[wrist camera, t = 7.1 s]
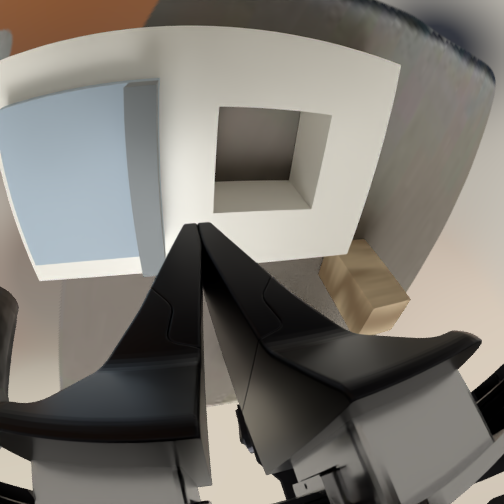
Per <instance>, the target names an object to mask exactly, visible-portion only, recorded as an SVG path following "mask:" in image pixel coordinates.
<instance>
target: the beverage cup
mask: <svg viewBox="0 0 504 504" xmlns="http://www.w3.org/2000/svg"><path fill="white" fill-rule="evenodd" d="M18 308H19V307H18V303H17V301H16V299H15V298H14V297H13V296H12V295H11V294H10V293H9V292H8V291H7V290H5V289H3V288H2V287H0V402H2V401H8V402H9V398H8V384H9V373H10V363H11V355H12V347H13V341H14V334H15V328H16V321H17V320H16V319H17V313H18ZM0 448H1V446H0Z"/></svg>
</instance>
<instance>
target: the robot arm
mask: <svg viewBox="0 0 504 504" xmlns="http://www.w3.org/2000/svg"><path fill="white" fill-rule="evenodd" d="M203 291H204V295H205V299H206V302H207V306H208V309H209V312H210V316H211V319H212V322H213V326H214V329H215V332H216V335H217V339H218V342H219V345H220V348H221V351H222V354H223V357H224V360H225V363H226V366H227V370H228V373H229V376H230V378H231V381H232V384H233V387H234V390H235V393H236V396H237V399H238V402H239V405H237V406H238V409H237V410H236V415H237V418H238V424H239V435H240V442H241V443H242V444H244V445H246V447H247V448H248V450H249V451H250V453H255V457H256V460H257V462H258V463H259V464H260V465H262V466H263V468H264V471H265V473H266V475H269V474H272V475H274V476H275V477H276V478H277V479H278V480H280V482H281V485H282V488H283V491H284V494H285V497H286V500H285V501H281V502H277V503H274V504H451V503H452V502H453V501H454V500H456V499H457V498H458V497H459V496H460V495H461V494H463V493H464V492H465V491H466V490H467V489H468V488H470V486H472V485H473V484H475V483H477V482H480V481H482V480H485V479H487V478H490V477H492V476H494V475H496V474H499V473H501V472H503V471H504V364H503V365H502V366H501V367H500V368H499V369H498V370H496V371H495V373H493V374H492V375H491V376H490V377H489V378H488V379H487V380H485V381H484V382H483V383H482V384H481V385H480V386H478V387H477V388H476V389H475V390H473V391H472V392H470V390H469V389H468V387H467V385H466V383H465V382H464V380H463V378H462V377H461V375H460V373H459V371H458V369H459V368H460V367H461V366H462V365H463V364H464V363H465V362H466V361H467V360H468V359H469V358H470V357H471V356H472V355H473V354H474V353H475V351H476V350H477V349H478V348H479V346H480V345H481V343H482V340H481V339H480V338H478V337H477V336H475V335H473V334H471V333H468V332H463V331H450V332H448V333H446V334H443V335H441V336H437V337H432V338H405V337H390V336H376V335H364V334H357V333H353V332H350V331H348V330H346V329H344V328H342V327H340V326H339V325H337V324H335V323H334V322H333V321H331V320H330V319H328V318H327V317H325V316H324V315H322V314H321V313H319V312H318V311H317V310H315V309H314V308H312V307H311V306H309V305H308V304H306V303H305V302H304V301H302V300H301V299H300V298H298V297H297V296H295V295H294V294H293V293H291V292H290V291H289V290H288V289H287V288H285V287H284V286H283V285H282V284H280V283H279V282H278V281H277V280H276V279H275V278H274V277H272V276H271V275H270V274H269V273H268V272H267V271H265V270H264V269H263V268H262V267H261V266H260V265H259V264H257V263H256V262H255V261H254V260H253V259H252V258H251V257H249V256H248V255H247V254H246V253H245V252H244V251H243V250H241V249H240V248H239V247H238V246H237V245H236V244H235V243H233V242H232V241H231V240H230V239H229V238H228V237H227V236H225V235H224V234H223V233H222V232H221V231H220V230H219V229H217V228H216V227H215V226H214V225H213V224H212V223H210V222H202V223H198V224H196V223H188V224H184V225H183V226H182V228H181V230H180V232H179V234H178V236H177V238H176V239H175V241H174V243H173V245H172V247H171V249H170V251H169V253H168V255H167V257H166V258H165V260H164V262H163V264H162V266H161V268H160V270H159V272H158V274H157V276H156V278H155V280H154V282H153V284H152V286H151V289H150V290H149V292H148V294H147V296H146V298H145V300H144V302H143V304H142V306H141V308H140V310H139V311H138V313H137V315H136V316H135V318H134V319H133V321H132V323H131V324H130V326H129V327H128V329H127V330H126V332H125V333H124V335H123V337H122V338H121V340H120V341H119V343H118V344H117V346H116V347H115V349H114V351H113V352H112V354H111V355H110V357H109V358H108V360H107V361H106V362H105V364H104V365H103V366H102V367H101V368H100V369H99V370H97V371H96V372H95V373H93V374H91V375H89V376H87V377H86V378H84V379H82V380H80V381H78V382H76V383H74V384H73V385H71V386H69V387H67V388H65V389H63V390H61V391H59V392H58V393H56V394H54V395H52V396H50V397H48V398H46V399H43V400H40V401H37V402H32V403H16V402H8V401H2V402H0V446H1V447H3V448H5V449H7V450H9V451H10V452H12V453H14V454H16V455H19V456H20V457H23V458H24V459H27V460H29V461H31V464H32V483H33V491H31V490H28V489H24V488H20V487H17V486H13V485H10V484H6V483H3V482H0V504H212V503H211V502H210V501H201V500H200V496H199V492H198V487H203V486H211V485H212V479H211V469H210V468H211V467H210V456H209V443H208V430H207V415H206V414H207V413H206V394H205V372H204V341H203ZM487 504H504V495H501V496H498V497H496V498H493V499H492V500H490V501H489V502H488V503H487Z"/></svg>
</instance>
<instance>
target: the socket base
mask: <svg viewBox="0 0 504 504" xmlns="http://www.w3.org/2000/svg"><path fill="white" fill-rule="evenodd" d="M400 68H401V65H400V64H397V63H394V62H392V61H389V60H386V59H383V58H380V57H378V56H375V55H372V54H368V53H365V52H362V51H359V50H355V49H352V48H348V47H345V46H341V45H337V44H333V43H329V42H325V41H321V40H317V39H312V38H307V37H302V36H297V35H291V34H286V33H279V32H273V31H265V30H257V29H248V28H237V27H222V26H158V27H144V28H133V29H124V30H116V31H109V32H103V33H97V34H91V35H87V36H81V37H76V38H72V39H68V40H63V41H59V42H55V43H51V44H48V45H45V46H41V47H37V48H34V49H31V50H28V51H25V52H22V53H19V54H16V55H13V56H10V57H8V58H5V59H3V60H0V109H1V108H2V107H4V106H7V105H10V104H13V103H16V102H20V101H23V100H27V99H30V98H34V97H38V96H42V95H46V94H50V93H54V92H59V91H63V90H68V89H73V88H78V87H84V86H90V85H96V84H102V83H110V82H117V81H126V80H136V79H148V78H160V87H159V146H160V175H161V194H162V209H163V222H164V234H165V251H166V257H167V255H168V253H169V251H170V249H171V247H172V245H173V243H174V241H175V239H176V238H177V236H178V234H179V232H180V230H181V228H182V226H183V225H184V224H188V223H196V224H198V223H202V222H210V223H212V224H213V225H214V226H215V227H216V228H217V229H219V230H220V231H221V232H222V233H223V234H224V235H225V236H227V237H228V238H229V239H230V240H231V241H232V242H233V243H235V244H236V245H237V246H238V247H239V248H240V249H241V250H243V251H244V252H245V253H246V254H247V255H248V256H249V257H251V258H252V259H253V260H254V261H255V262H256V263H262V262H273V261H283V260H294V259H304V258H314V257H324V256H334V255H344V254H347V253H348V250H349V248H350V245H351V242H352V239H353V237H354V234H355V231H356V228H357V225H358V222H359V219H360V216H361V214H362V211H363V208H364V204H365V201H366V198H367V195H368V192H369V189H370V186H371V183H372V179H373V176H374V173H375V169H376V166H377V163H378V159H379V156H380V152H381V148H382V145H383V141H384V137H385V134H386V130H387V126H388V122H389V118H390V114H391V110H392V106H393V101H394V97H395V92H396V88H397V83H398V78H399V73H400ZM219 107H253V108H270V109H283V110H294V111H301V113H300V119H299V125H298V131H297V137H296V143H295V149H294V154H293V160H292V166H291V171H290V177H289V180H265V181H221V182H215V163H216V145H217V129H218V115H219ZM0 169H1V174H2V178H3V181H4V185H5V189H6V192H7V196H8V199H9V203H10V206H11V209H12V212H13V215H14V218H15V221H16V224H17V227H18V230H19V233H20V235H21V238H22V241H23V243H24V246H25V248H26V251H27V253H28V255H29V258H30V261H31V263H32V265H33V268H34V270H35V272H36V274H37V277H38V279H39V281H44V280H58V279H73V278H86V277H99V276H112V275H125V274H137V273H142V268H141V262H140V257H129V258H117V259H105V260H93V261H82V262H70V263H59V264H47V265H35V262H34V260H33V258H32V255H31V253H30V250H29V248H28V245H27V243H26V240H25V237H24V234H23V232H22V229H21V226H20V223H19V220H18V217H17V214H16V211H15V208H14V205H13V201H12V198H11V194H10V191H9V187H8V183H7V179H6V175H5V171H4V167H3V163H2V158H1V153H0Z"/></svg>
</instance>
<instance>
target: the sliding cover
mask: <svg viewBox="0 0 504 504" xmlns="http://www.w3.org/2000/svg"><path fill="white" fill-rule="evenodd" d="M159 87H160V78H148V79H136V80H126V81H117V82H110V83H102V84H96V85H90V86H84V87H78V88H73V89H68V90H63V91H59V92H54V93H50V94H46V95H42V96H38V97H34V98H30V99H27V100H23V101H20V102H16V103H13V104H10V105H7V106H4V107H2V108H1V109H0V153H1V158H2V163H3V167H4V171H5V175H6V179H7V183H8V187H9V191H10V194H11V198H12V201H13V205H14V208H15V211H16V214H17V217H18V220H19V223H20V226H21V229H22V232H23V234H24V237H25V240H26V243H27V245H28V248H29V250H30V253H31V255H32V258H33V260H34V262H35V265H47V264H59V263H70V262H82V261H93V260H105V259H117V258H129V257H140V262H141V268H142V273H143V277H148V276H157V274H158V272H159V270H160V268H161V266H162V264H163V262H164V260H165V258H166V251H165V234H164V222H163V209H162V194H161V175H160V146H159Z"/></svg>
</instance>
